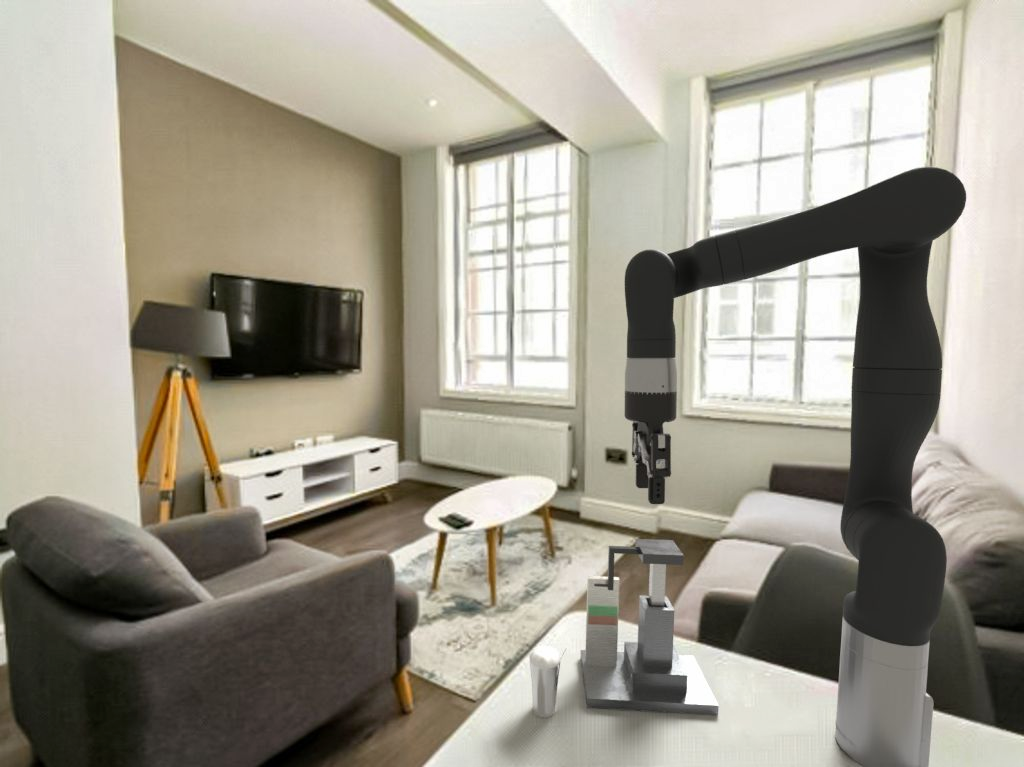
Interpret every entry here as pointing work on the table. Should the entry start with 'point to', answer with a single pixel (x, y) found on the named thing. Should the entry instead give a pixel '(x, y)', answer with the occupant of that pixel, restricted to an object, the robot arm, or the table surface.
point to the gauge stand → (638, 660)
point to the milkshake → (544, 679)
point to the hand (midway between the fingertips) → (649, 495)
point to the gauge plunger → (654, 555)
